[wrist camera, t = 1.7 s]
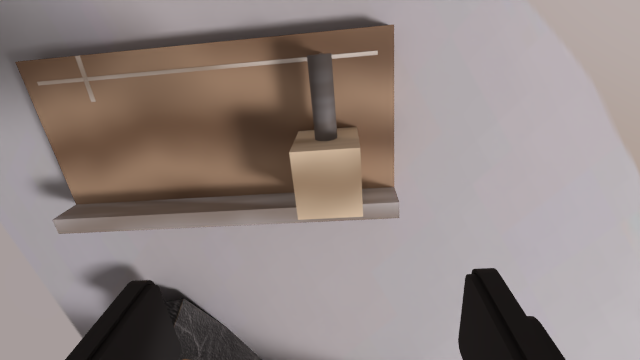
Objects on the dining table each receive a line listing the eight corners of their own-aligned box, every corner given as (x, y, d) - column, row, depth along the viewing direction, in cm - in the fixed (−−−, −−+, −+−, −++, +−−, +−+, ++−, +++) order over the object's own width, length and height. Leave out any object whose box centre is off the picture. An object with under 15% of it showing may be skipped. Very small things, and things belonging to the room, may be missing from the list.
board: (390, 191, 26) (399, 217, 23) (96, 207, 29) (58, 233, 25) (389, 25, 22) (400, 23, 18) (37, 60, 24) (-21, 64, 20)
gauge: (359, 185, 24) (363, 216, 20) (305, 188, 25) (298, 219, 21) (353, 49, 21) (356, 53, 16) (289, 55, 21) (277, 60, 17)
